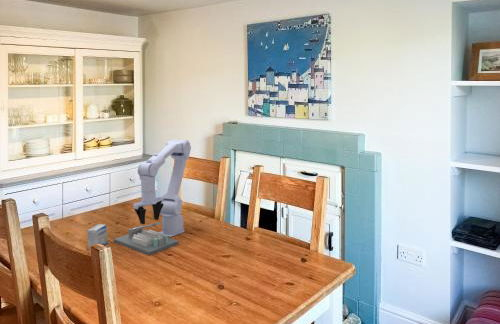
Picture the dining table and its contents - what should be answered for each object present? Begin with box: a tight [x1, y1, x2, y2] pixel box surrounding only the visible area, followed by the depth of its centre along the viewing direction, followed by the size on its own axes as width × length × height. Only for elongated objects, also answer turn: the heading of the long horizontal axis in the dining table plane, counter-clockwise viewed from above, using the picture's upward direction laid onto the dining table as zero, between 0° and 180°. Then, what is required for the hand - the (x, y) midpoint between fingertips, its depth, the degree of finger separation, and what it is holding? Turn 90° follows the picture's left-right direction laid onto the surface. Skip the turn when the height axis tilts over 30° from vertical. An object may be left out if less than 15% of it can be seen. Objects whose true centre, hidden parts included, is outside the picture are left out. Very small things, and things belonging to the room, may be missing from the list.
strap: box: [131, 221, 162, 231], centre depth 185 cm, size 17×4×1 cm, turn 51°
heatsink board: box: [113, 224, 180, 256], centre depth 187 cm, size 16×24×6 cm, turn 52°
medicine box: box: [86, 223, 108, 250], centre depth 182 cm, size 8×4×9 cm, turn 168°
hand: (149, 221), depth 183 cm, fingers open, 7 cm apart
